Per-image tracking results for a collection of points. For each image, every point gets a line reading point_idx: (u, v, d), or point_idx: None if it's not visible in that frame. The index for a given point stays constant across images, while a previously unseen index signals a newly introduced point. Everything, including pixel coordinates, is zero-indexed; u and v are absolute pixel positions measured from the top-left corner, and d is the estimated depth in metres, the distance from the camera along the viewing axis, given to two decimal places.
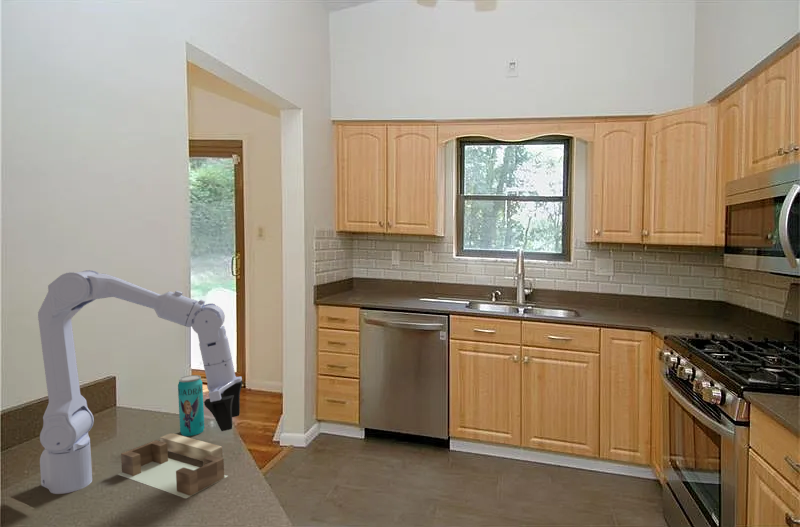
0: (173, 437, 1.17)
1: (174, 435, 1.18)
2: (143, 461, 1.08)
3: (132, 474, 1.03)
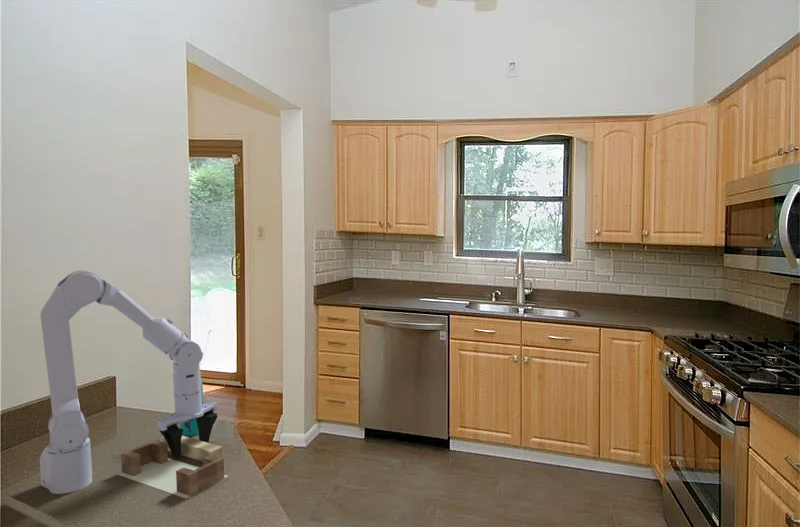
0: None
1: None
2: (143, 461, 1.08)
3: (132, 474, 1.03)
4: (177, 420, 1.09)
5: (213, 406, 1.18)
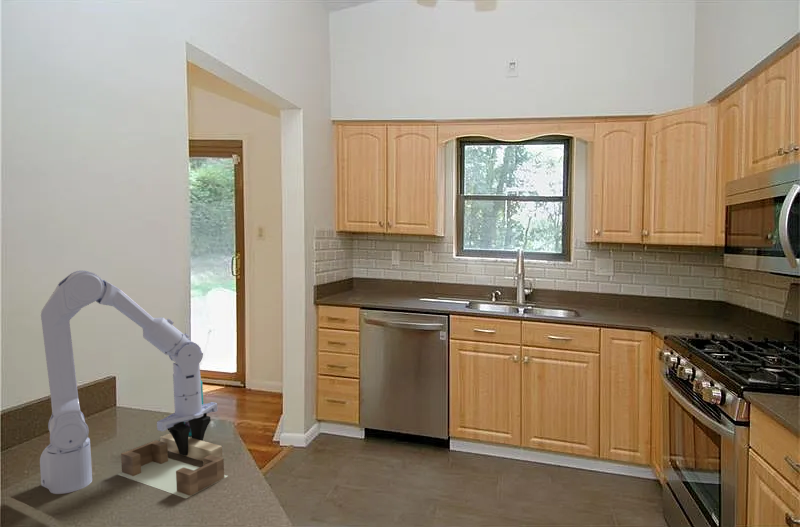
0: None
1: None
2: (143, 461, 1.08)
3: (132, 474, 1.03)
4: (177, 420, 1.09)
5: (213, 407, 1.18)
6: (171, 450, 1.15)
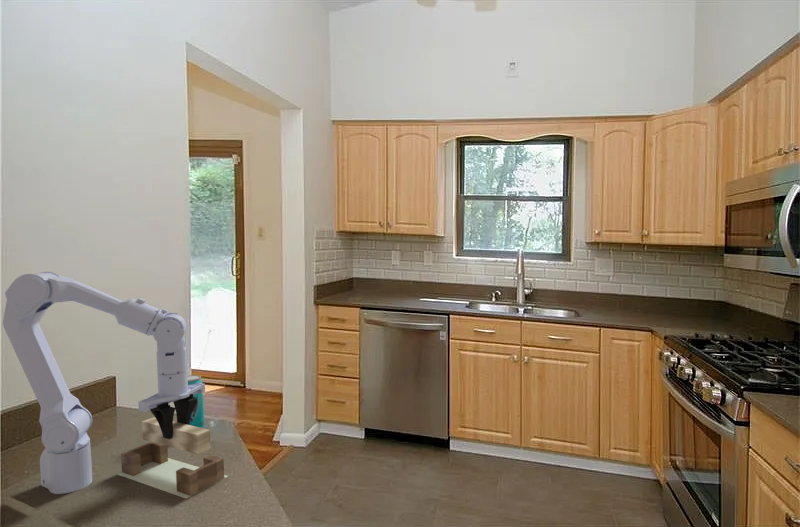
0: (157, 421, 1.08)
1: None
2: (143, 461, 1.08)
3: (132, 474, 1.03)
4: (160, 401, 1.01)
5: (200, 387, 1.10)
6: (154, 435, 1.07)
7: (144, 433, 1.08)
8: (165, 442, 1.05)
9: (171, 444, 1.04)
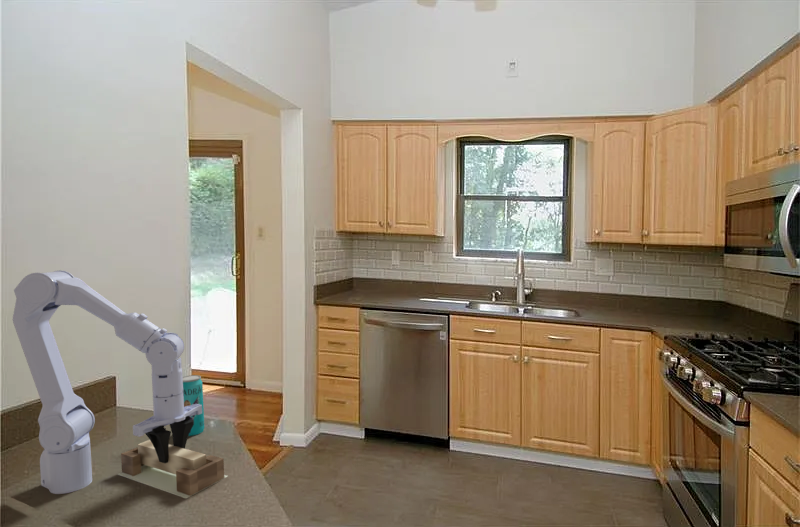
0: (152, 444, 1.06)
1: None
2: None
3: (132, 474, 1.03)
4: (155, 424, 0.98)
5: (197, 409, 1.07)
6: (150, 459, 1.04)
7: (140, 456, 1.06)
8: (161, 466, 1.02)
9: (166, 469, 1.02)
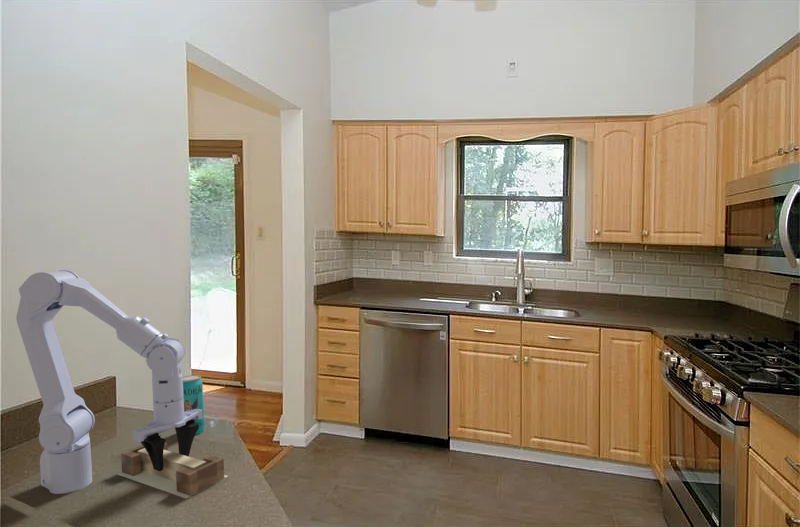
0: None
1: None
2: None
3: (132, 474, 1.03)
4: (156, 430, 0.98)
5: (197, 414, 1.07)
6: (150, 466, 1.04)
7: None
8: (161, 473, 1.02)
9: (167, 476, 1.02)
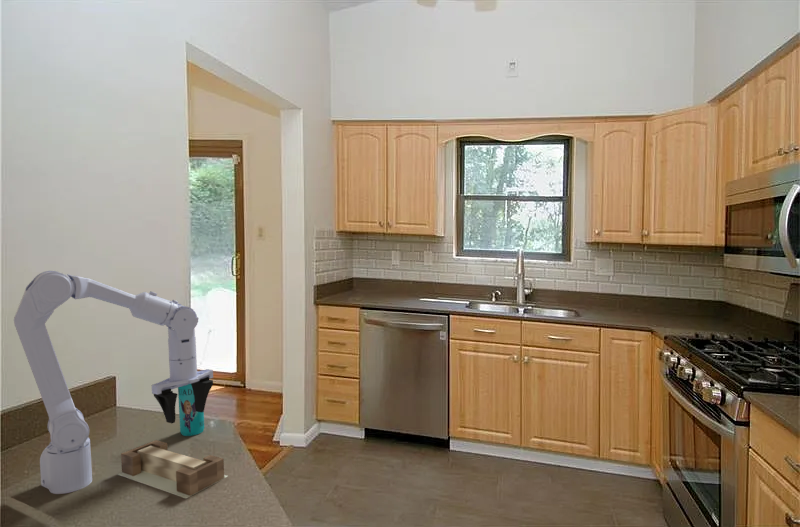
0: (153, 451, 1.06)
1: (154, 448, 1.07)
2: None
3: (132, 474, 1.03)
4: (172, 384, 1.09)
5: (208, 373, 1.18)
6: (150, 466, 1.04)
7: None
8: (161, 473, 1.02)
9: (167, 476, 1.02)
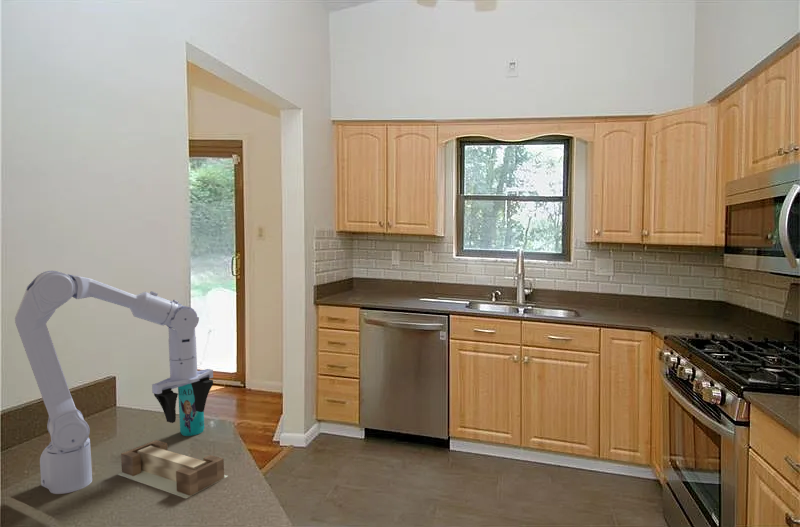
0: (153, 451, 1.06)
1: (154, 448, 1.07)
2: None
3: (132, 474, 1.03)
4: (172, 384, 1.09)
5: (208, 373, 1.18)
6: (150, 466, 1.04)
7: None
8: (161, 473, 1.02)
9: (167, 476, 1.02)
